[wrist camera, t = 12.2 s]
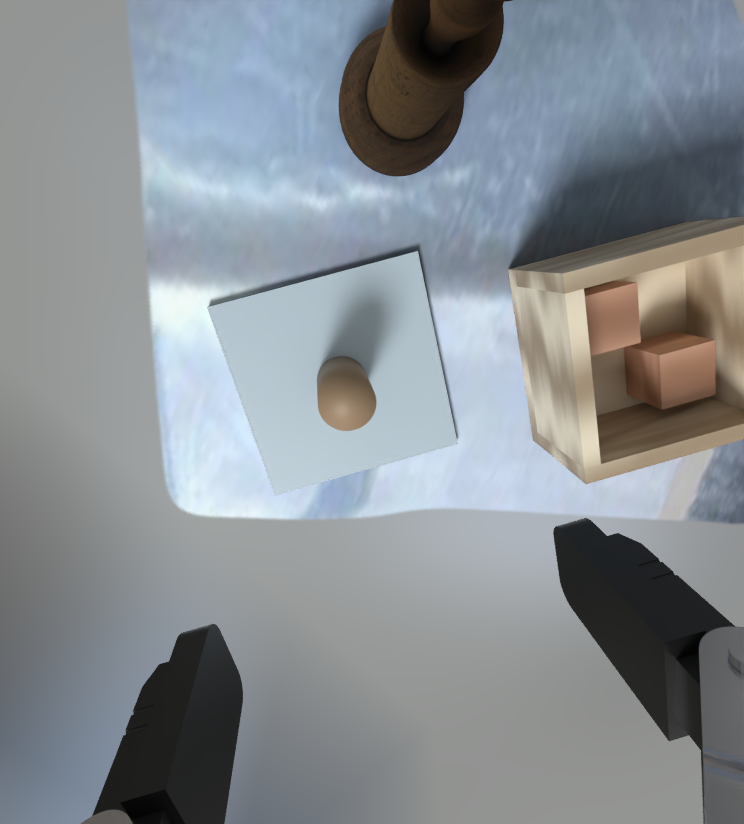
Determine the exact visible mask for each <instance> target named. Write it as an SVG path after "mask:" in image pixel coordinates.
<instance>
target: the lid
mask: <svg viewBox="0 0 744 824" xmlns="http://www.w3.org/2000/svg"><path fill="white" fill-rule="evenodd" d="M207 308H208V311H209V314H210V317H211V319H212V322H213V325H214V328H215V330H216V333H217V336H218V339H219V342H220V344H221V347H222V350H223V353H224V355H225V358H226V361H227V364H228V367H229V369H230V372H231V375H232V378H233V380H234V383H235V386H236V389H237V392H238V394H239V397H240V400H241V403H242V405H243V408H244V411H245V414H246V417H247V419H248V422H249V425H250V428H251V430H252V433H253V436H254V439H255V442H256V444H257V447H258V450H259V453H260V455H261V458H262V461H263V464H264V467H265V469H266V472H267V475H268V478H269V480H270V483H271V486H272V489H273V492H274V494H275V495H278V494H281V493H285V492H288V491H292V490H295V489H299V488H303V487H306V486H310V485H313V484H317V483H320V482H324V481H327V480H331V479H334V478H338V477H342V476H345V475H349V474H352V473H356V472H359V471H363V470H366V469H370V468H373V467H377V466H381V465H384V464H388V463H391V462H395V461H398V460H402V459H405V458H409V457H413V456H416V455H420V454H423V453H427V452H430V451H434V450H437V449H441V448H444V447H448V446H452V445H455V444H458V443H457V438H456V433H455V428H454V424H453V419H452V414H451V409H450V404H449V399H448V395H447V390H446V385H445V380H444V375H443V370H442V366H441V361H440V356H439V351H438V346H437V342H436V337H435V332H434V327H433V322H432V317H431V313H430V308H429V303H428V298H427V293H426V288H425V284H424V279H423V274H422V269H421V264H420V259H419V255H418V251H415V252H411V253H407V254H404V255H400V256H396V257H392V258H389V259H385V260H381V261H377V262H374V263H370V264H366V265H363V266H359V267H355V268H351V269H348V270H344V271H340V272H336V273H333V274H329V275H325V276H321V277H318V278H314V279H310V280H306V281H303V282H299V283H295V284H291V285H288V286H284V287H280V288H277V289H273V290H269V291H265V292H262V293H258V294H254V295H250V296H247V297H243V298H239V299H235V300H232V301H228V302H224V303H220V304H217V305H213V306H209V307H207Z"/></svg>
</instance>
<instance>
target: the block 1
mask: <svg viewBox="0 0 744 824" xmlns="http://www.w3.org/2000/svg"><path fill="white" fill-rule="evenodd" d="M584 295H585V305H586V315H587V325H588V336H589V346H590V356H593V355H597V354H601V353H604V352H608V351H612V350H615V349H619V348H622V347H626V346H630V345H633V344H637V343H641V336H640V320H639V303H638V287H637V282H628V281H616V280H614V281H610V282H607V283H603V284H599V285H596V286H592V287H588V288H585V289H584Z"/></svg>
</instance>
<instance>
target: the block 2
mask: <svg viewBox="0 0 744 824" xmlns="http://www.w3.org/2000/svg"><path fill="white" fill-rule="evenodd" d="M624 359H625V373H626V386H627V394H628V395H630V396H632V397H635V398H637V399H639V400H641V401H644V402H646V403H648V404H650V405H653V406H655V407H657V408H660V409H662V410H663V409H666V408H670V407H673V406H677V405H681V404H684V403H688V402H691V401H695V400H698V399H702V398H705V397H709V396H712V395H716V382H715V340H713V339H708V338H703V337H698V336H694V335H689V334H684V333H679V332H675V331H673V332H669V333H665V334H662V335H658V336H654V337H651V338H647V339H644V340H641V343H637V344H633V345H630V346H626V347H624Z"/></svg>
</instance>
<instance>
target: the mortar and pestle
mask: <svg viewBox="0 0 744 824" xmlns="http://www.w3.org/2000/svg"><path fill="white" fill-rule="evenodd" d="M505 1H511V0H394V1H393V4H392V8H391V11H390V15H389V18H388V22H387V25H386V27H383V28H381V29H378V30H376V31H375V32H373V33H371V34H370V35H369V36H367V37H366V38H365V39H364V40H363V41H362V42H361V43H360V44H359V45H358V46H357V48H356V49H355V50H354V52H353V53H352V55H351V57H350V59H349V61H348V63H347V65H346V68H345V71H344V75H343V79H342V83H341V88H340V95H339V116H340V122H341V127H342V130H343V133H344V136H345V139H346V141H347V143H348V145H349V147H350V148H351V150H352V151H353V153H354V154H355V155H356V156H357V158H358V159H359V160H360V161H361V162H363V163H364V164H365V165H366V166H368V167H369V168H371V169H372V170H374V171H376V172H379V173H381V174H385V175H389V176H406V175H411V174H414V173H417V172H419V171H421V170H423V169H425V168H426V167H428V166H429V165H430V164H432V163H433V162H434V161H435V160H436V159H437V158H439V157H440V156H441V155H442V154H443V153H444V151H445V150H446V149H447V148H448V146H449V145H450V144H451V142H452V140H453V139H454V137H455V135H456V133H457V131H458V128H459V125H460V122H461V118H462V114H463V105H464V92H465V91H466V90H467V89H468V88H469V87H470V86H471V85H472V84H473V83H474V82H475V81H476V80H477V79H478V78H479V77H480V75H481V74H482V73H483V72H484V71H485V70H486V69H487V68H488V66H489V65H490V64H491V62H492V61H493V59H494V57H495V55H496V53H497V51H498V48H499V46H500V42H501V39H502V34H503V25H504V15H503V7H502V5H503V2H505Z"/></svg>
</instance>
